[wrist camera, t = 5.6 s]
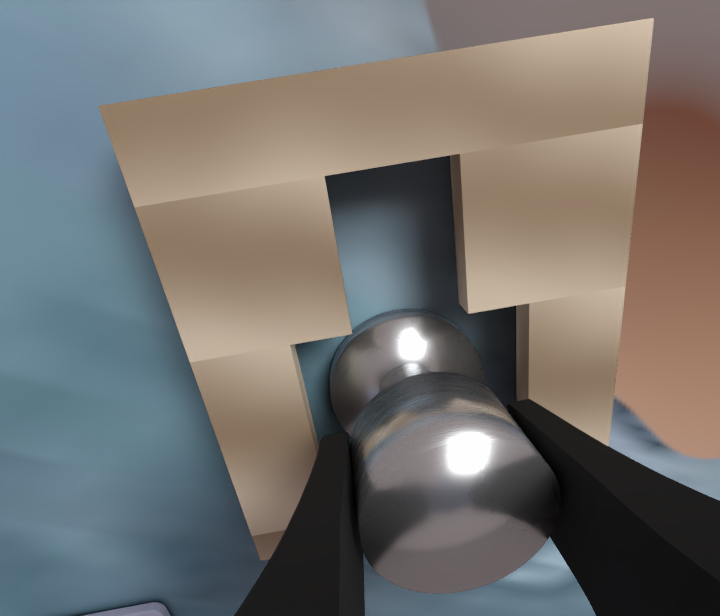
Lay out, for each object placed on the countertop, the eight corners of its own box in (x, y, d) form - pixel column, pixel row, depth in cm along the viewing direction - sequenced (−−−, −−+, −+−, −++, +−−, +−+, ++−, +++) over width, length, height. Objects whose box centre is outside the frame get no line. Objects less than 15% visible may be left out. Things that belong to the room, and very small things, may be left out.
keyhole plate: (564, 449, 16) (603, 496, 14) (269, 503, 16) (260, 560, 14) (585, 45, 11) (653, 18, 9) (145, 115, 11) (98, 106, 8)
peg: (478, 420, 15) (574, 576, 10) (344, 450, 15) (363, 625, 9) (469, 294, 13) (583, 397, 8) (315, 326, 13) (316, 455, 7)
